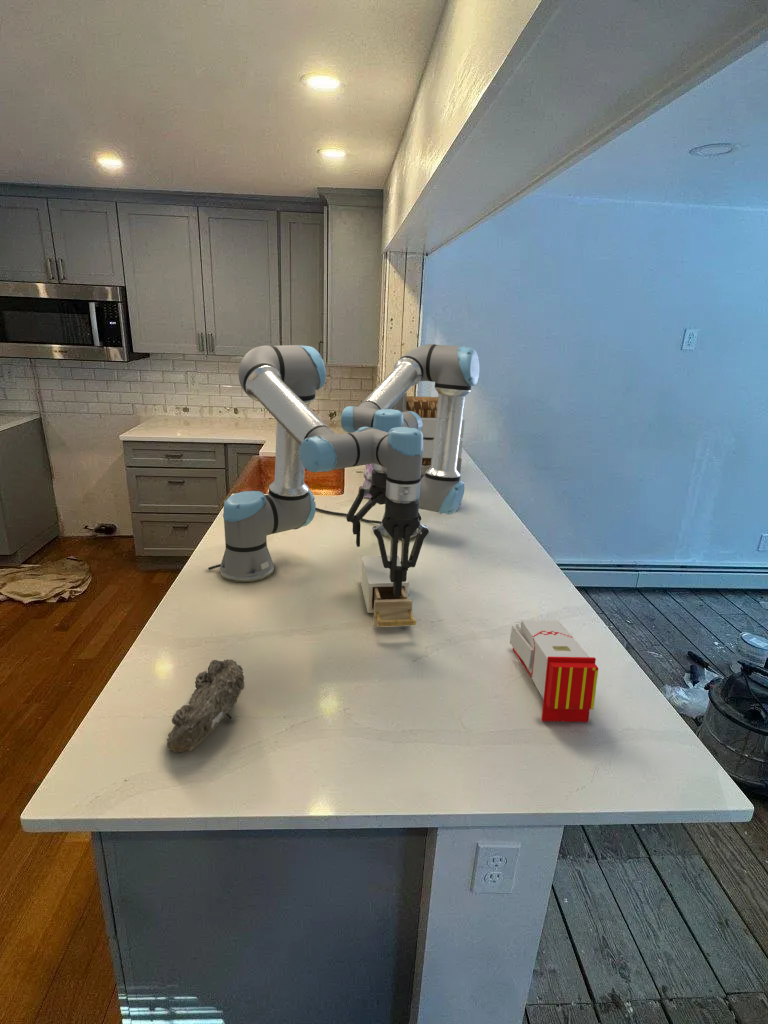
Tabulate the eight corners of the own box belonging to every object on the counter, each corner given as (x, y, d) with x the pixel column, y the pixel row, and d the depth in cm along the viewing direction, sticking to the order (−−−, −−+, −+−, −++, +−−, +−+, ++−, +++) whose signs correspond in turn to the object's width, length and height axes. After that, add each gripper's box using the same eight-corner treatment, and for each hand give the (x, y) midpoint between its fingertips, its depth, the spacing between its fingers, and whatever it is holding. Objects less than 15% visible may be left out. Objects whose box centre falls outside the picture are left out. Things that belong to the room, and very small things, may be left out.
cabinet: (407, 611, 149) (409, 582, 146) (367, 613, 147) (368, 583, 144) (396, 582, 164) (398, 555, 161) (360, 583, 163) (361, 556, 160)
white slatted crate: (382, 463, 289) (386, 382, 275) (445, 464, 293) (451, 384, 279) (390, 482, 257) (394, 392, 243) (460, 483, 261) (468, 394, 247)
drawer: (415, 637, 136) (417, 613, 133) (377, 638, 134) (378, 614, 132) (400, 594, 155) (401, 573, 153) (366, 595, 154) (367, 574, 152)
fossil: (192, 660, 117) (244, 628, 112) (224, 691, 120) (276, 661, 115) (142, 746, 98) (202, 712, 93) (182, 779, 101) (242, 748, 96)
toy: (555, 605, 135) (607, 664, 106) (550, 657, 138) (599, 728, 109) (505, 604, 135) (543, 662, 106) (500, 656, 138) (537, 727, 108)
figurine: (366, 499, 233) (368, 464, 228) (356, 492, 241) (357, 458, 236) (387, 497, 237) (388, 462, 232) (376, 490, 246) (377, 456, 241)
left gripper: (375, 504, 121) (371, 602, 129) (435, 503, 123) (427, 600, 131) (371, 493, 128) (367, 586, 136) (427, 493, 130) (420, 585, 138)
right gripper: (339, 473, 143) (338, 550, 150) (435, 473, 147) (430, 549, 154) (337, 465, 150) (336, 539, 157) (429, 466, 154) (424, 538, 161)
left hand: (397, 593), depth 133 cm, fingers closed
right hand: (382, 544), depth 155 cm, fingers open, 13 cm apart
